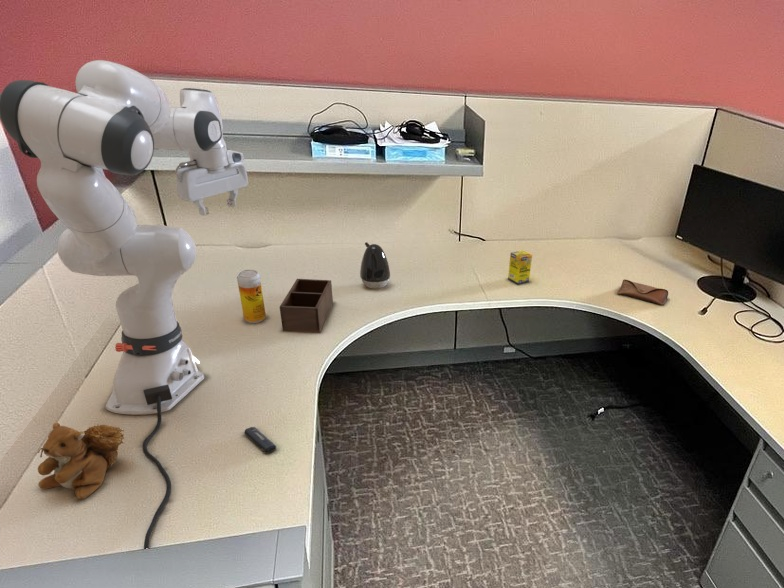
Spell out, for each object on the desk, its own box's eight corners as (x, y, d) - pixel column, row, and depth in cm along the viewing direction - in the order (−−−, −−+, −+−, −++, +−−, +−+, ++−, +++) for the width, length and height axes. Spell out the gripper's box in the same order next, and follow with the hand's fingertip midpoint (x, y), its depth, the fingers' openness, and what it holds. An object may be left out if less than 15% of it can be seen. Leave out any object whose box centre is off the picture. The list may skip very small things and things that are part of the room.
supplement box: (517, 285, 210) (520, 257, 204) (507, 279, 214) (510, 252, 208) (529, 281, 214) (532, 254, 208) (519, 276, 217) (521, 249, 212)
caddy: (319, 332, 166) (317, 308, 162) (282, 331, 165) (279, 306, 161) (333, 302, 184) (331, 280, 180) (299, 301, 183) (296, 278, 179)
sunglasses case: (616, 293, 210) (621, 276, 210) (618, 296, 217) (623, 280, 217) (663, 305, 205) (669, 287, 205) (664, 308, 212) (669, 291, 211)
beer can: (258, 325, 167) (251, 278, 159) (240, 321, 168) (231, 275, 160) (270, 316, 172) (263, 271, 164) (252, 313, 173) (244, 267, 165)
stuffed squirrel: (34, 490, 106) (9, 436, 99) (105, 447, 118) (86, 395, 111) (72, 507, 104) (49, 452, 97) (141, 461, 115) (124, 409, 108)
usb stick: (277, 449, 122) (276, 444, 121) (266, 455, 120) (265, 449, 119) (255, 429, 127) (254, 424, 126) (243, 434, 125) (242, 429, 124)
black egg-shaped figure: (379, 277, 204) (378, 237, 197) (396, 287, 198) (395, 246, 191) (354, 283, 198) (352, 242, 190) (371, 294, 192) (369, 251, 184)
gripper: (184, 166, 135) (196, 222, 142) (248, 153, 152) (255, 203, 159) (164, 161, 137) (176, 217, 144) (229, 149, 153) (237, 199, 160)
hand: (218, 210), depth 151 cm, fingers open, 8 cm apart
